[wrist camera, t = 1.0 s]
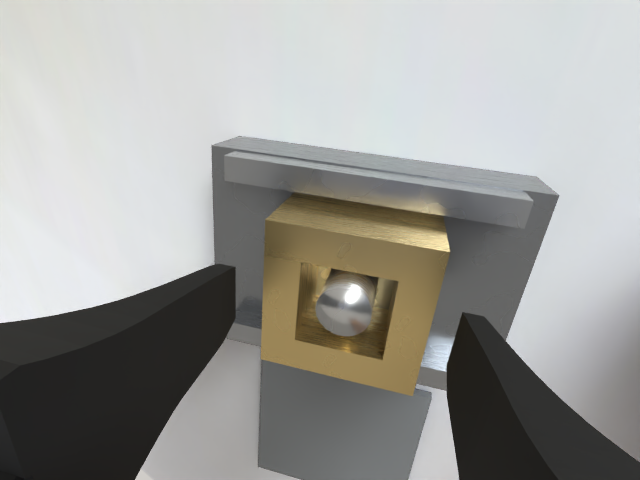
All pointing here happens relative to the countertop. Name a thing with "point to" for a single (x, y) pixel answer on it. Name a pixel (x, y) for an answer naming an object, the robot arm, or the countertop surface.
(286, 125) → the countertop surface
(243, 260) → the block
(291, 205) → the brass square ring
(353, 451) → the rubber mat
